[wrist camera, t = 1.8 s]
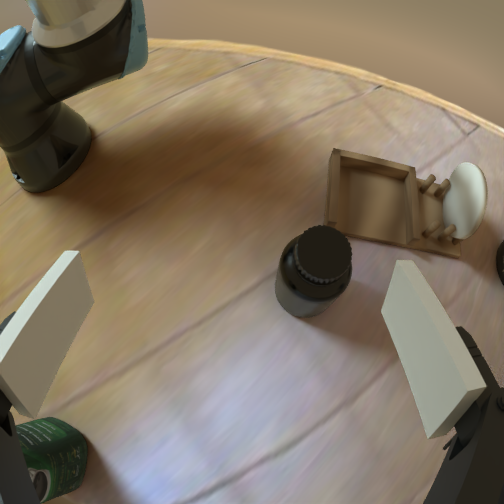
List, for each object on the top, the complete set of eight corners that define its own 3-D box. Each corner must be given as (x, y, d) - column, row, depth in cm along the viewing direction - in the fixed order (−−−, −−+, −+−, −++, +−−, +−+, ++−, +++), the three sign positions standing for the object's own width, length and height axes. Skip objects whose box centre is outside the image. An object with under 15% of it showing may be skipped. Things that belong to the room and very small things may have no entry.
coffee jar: (44, 407, 31) (-64, 409, 14) (95, 435, 30) (-8, 463, 13) (35, 467, 28) (-62, 492, 10) (83, 496, 27) (-6, 545, 10)
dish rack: (323, 231, 40) (345, 184, 29) (328, 161, 43) (346, 107, 33) (458, 258, 38) (504, 225, 28) (451, 191, 42) (487, 150, 32)
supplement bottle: (328, 259, 38) (358, 212, 27) (335, 316, 36) (372, 289, 25) (271, 262, 38) (279, 215, 27) (275, 320, 36) (287, 296, 24)
